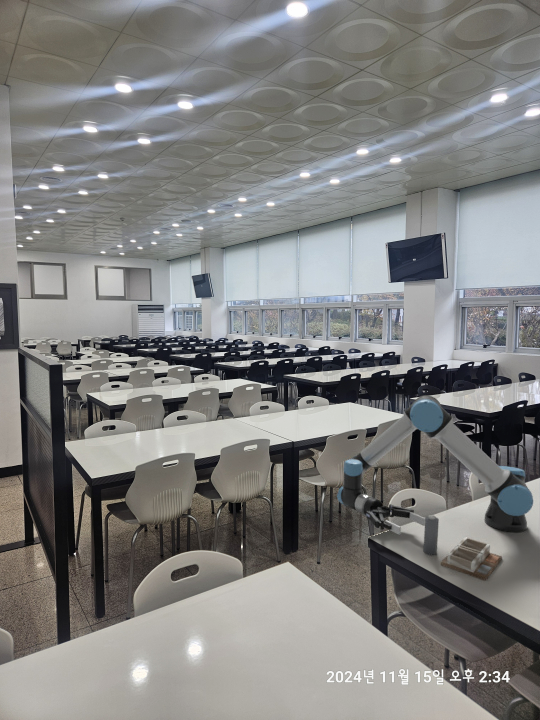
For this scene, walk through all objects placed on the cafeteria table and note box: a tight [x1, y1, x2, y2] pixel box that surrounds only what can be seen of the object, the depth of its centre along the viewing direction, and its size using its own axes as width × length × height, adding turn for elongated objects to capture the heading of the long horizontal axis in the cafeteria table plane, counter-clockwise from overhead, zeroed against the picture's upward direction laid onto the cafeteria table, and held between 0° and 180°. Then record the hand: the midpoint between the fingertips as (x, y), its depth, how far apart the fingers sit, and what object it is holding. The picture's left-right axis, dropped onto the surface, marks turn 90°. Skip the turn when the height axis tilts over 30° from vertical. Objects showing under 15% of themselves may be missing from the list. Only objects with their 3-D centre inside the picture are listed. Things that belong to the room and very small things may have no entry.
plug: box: [423, 514, 440, 556], centre depth 162 cm, size 4×4×13 cm
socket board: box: [440, 536, 503, 581], centre depth 156 cm, size 18×14×4 cm
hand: (412, 526), depth 168 cm, fingers open, 13 cm apart
